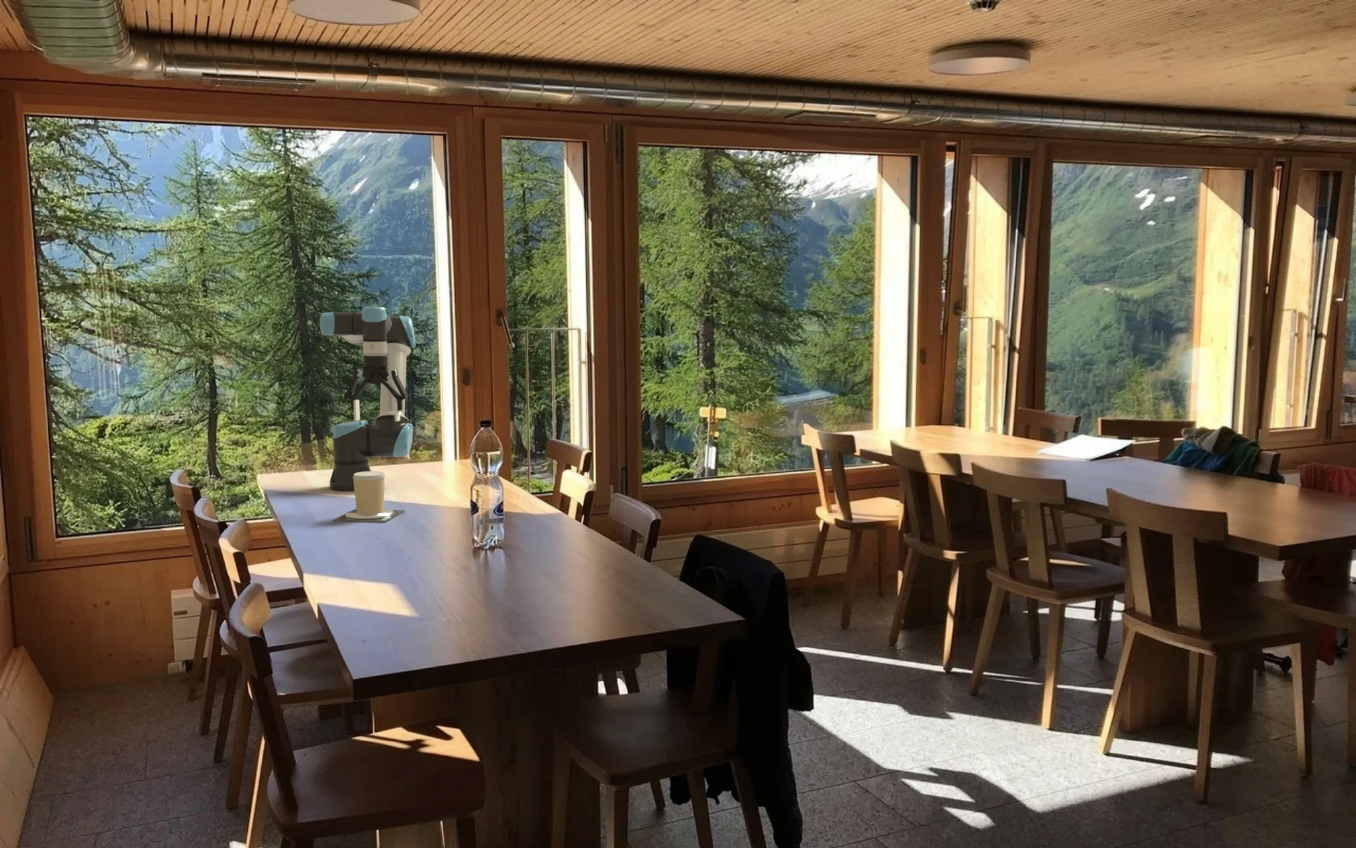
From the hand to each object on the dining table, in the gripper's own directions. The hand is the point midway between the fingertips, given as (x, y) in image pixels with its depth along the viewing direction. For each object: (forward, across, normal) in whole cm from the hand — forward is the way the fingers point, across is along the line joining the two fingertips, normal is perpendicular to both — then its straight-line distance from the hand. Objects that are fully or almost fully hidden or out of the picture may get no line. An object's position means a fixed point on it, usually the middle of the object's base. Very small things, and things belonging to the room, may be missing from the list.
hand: (377, 420), depth 339 cm
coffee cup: (+26, +6, -23) cm, 35 cm away
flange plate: (+27, +6, -23) cm, 36 cm away
